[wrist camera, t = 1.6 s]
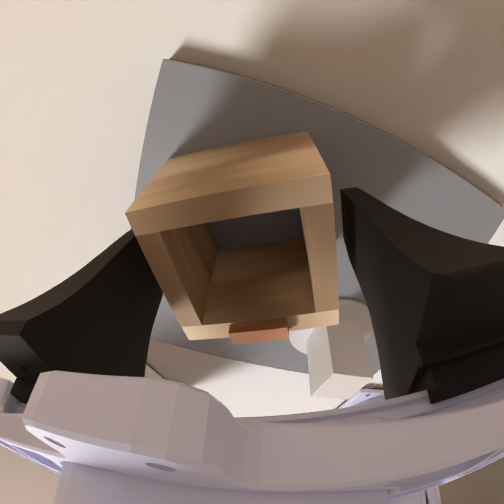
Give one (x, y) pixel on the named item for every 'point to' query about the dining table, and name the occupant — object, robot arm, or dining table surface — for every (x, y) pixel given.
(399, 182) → the panel
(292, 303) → the wooden cubby shelf
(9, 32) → the dining table surface
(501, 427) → the robot arm
